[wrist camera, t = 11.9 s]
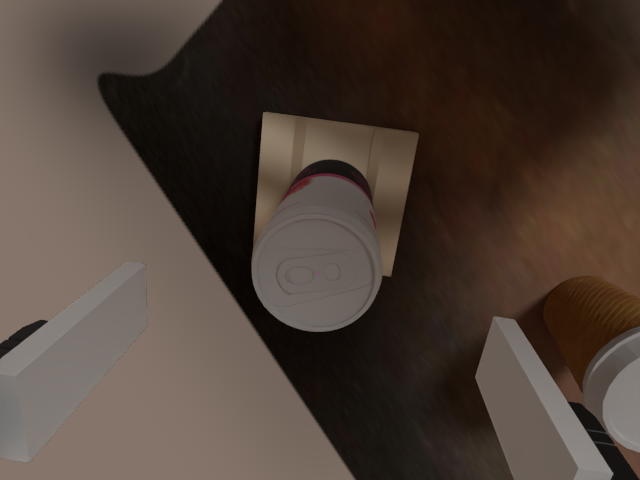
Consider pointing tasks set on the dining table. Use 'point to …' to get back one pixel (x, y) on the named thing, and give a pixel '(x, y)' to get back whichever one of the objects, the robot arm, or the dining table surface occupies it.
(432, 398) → the dining table surface
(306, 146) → the trivet
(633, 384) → the disposable coffee cup
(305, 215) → the beverage can
